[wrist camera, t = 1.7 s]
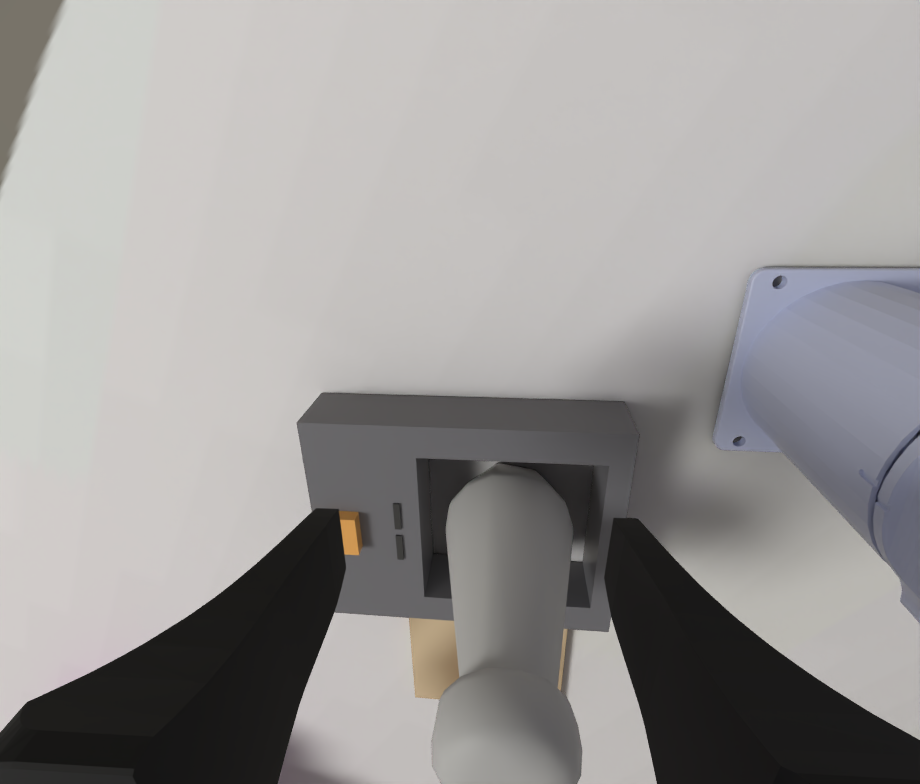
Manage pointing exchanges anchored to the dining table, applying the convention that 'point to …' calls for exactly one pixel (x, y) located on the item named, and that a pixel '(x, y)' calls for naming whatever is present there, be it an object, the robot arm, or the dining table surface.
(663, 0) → the dining table surface
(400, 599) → the grey flat block
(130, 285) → the dining table surface
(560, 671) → the oak pad
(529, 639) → the salt shaker
